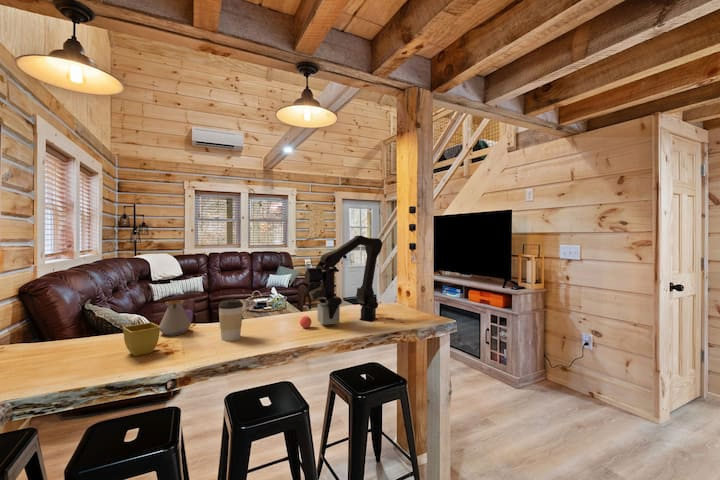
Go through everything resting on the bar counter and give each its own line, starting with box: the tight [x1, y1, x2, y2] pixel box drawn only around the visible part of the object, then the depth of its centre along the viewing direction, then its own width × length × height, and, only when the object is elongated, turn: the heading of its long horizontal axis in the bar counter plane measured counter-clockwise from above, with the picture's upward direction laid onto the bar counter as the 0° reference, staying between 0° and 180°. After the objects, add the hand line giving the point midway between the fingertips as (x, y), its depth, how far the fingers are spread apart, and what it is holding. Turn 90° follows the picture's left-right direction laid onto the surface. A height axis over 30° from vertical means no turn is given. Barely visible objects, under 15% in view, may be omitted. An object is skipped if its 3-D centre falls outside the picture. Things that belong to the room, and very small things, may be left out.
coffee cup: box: [218, 298, 244, 342], centre depth 129 cm, size 9×9×15 cm
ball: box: [299, 315, 312, 329], centre depth 144 cm, size 5×5×5 cm
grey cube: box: [317, 302, 341, 326], centre depth 148 cm, size 8×8×8 cm
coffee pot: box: [158, 299, 192, 337], centre depth 130 cm, size 21×12×15 cm, turn 29°
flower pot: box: [122, 322, 161, 357], centre depth 112 cm, size 9×9×9 cm
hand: (327, 316), depth 148 cm, fingers closed on grey cube, 8 cm apart
